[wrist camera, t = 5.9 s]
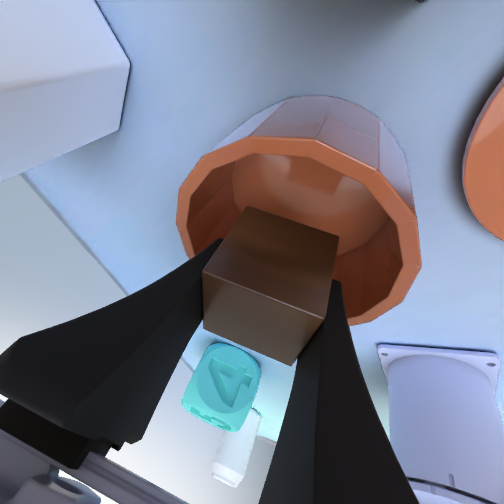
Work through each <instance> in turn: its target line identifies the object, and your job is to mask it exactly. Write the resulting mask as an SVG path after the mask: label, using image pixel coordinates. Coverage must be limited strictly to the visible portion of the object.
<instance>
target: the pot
mask: <svg viewBox="0 0 504 504" xmlns="http://www.w3.org/2000/svg"><path fill="white" fill-rule="evenodd" d="M247 206H251V207H254V208H257V209H260V210H263V211H266V212H269V213H272V214H275V215H278V216H281V217H284V218H287V219H290V220H293V221H296V222H299V223H302V224H305V225H308V226H311V227H314V228H317V229H319V230H322V231H325V232H328V233H331V234H334V235H337V236H339V244H338V249H337V255H336V260H335V266H334V271H333V277H332V279H335V280H338V281H340V282H341V284H342V291H343V298H344V304H345V310H346V315H347V320H348V324H349V326H353V325H358V324H363V323H368V322H371V321H373V320H374V319H376V318H378V317H379V316H381V315H382V314H384V313H385V312H387V311H389V310H390V309H392V308H393V307H395V306H397V305H398V304H400V303H401V302H402V301H403V300H404V298H405V296H406V294H407V293H408V291H409V289H410V287H411V285H412V284H413V282H414V280H415V278H416V276H417V275H418V273H419V271H420V269H421V267H422V266H421V265H422V260H421V251H420V241H419V232H418V223H417V216H416V211H415V205H414V200H413V194H412V189H411V183H410V177H409V172H408V166H407V161H406V155H405V153H404V151H403V150H402V149H401V147H400V145H399V144H398V142H397V140H396V139H395V137H394V135H393V134H392V132H391V131H390V130H389V129H388V128H387V127H386V126H385V124H384V123H383V122H382V121H381V120H380V119H379V118H378V117H376V116H375V115H373V114H372V113H371V112H369V111H367V110H366V109H364V108H362V107H361V106H359V105H357V104H354V103H352V102H349V101H346V100H344V99H339V98H335V97H330V96H319V95H310V96H299V97H291V98H288V99H285V100H283V101H281V102H278V103H276V104H273V105H271V106H270V107H268V108H266V109H265V110H263V111H261V112H259V113H257V114H254V115H253V116H252V117H250V118H249V119H248V120H247V121H245V122H244V123H243V124H242V125H241V126H239V127H238V128H237V129H236V130H234V131H233V132H232V133H231V134H229V135H228V136H227V137H226V138H224V139H223V140H222V141H221V142H219V143H218V144H217V145H216V146H215V147H213V148H212V149H211V150H210V151H208V152H207V153H206V154H205V155H203V156H202V157H201V158H200V160H199V161H198V163H197V164H196V165H195V167H194V168H193V170H192V171H191V172H190V174H189V175H188V177H187V178H186V179H185V181H184V182H183V183H182V185H181V186H180V189H179V194H178V205H177V215H176V225H177V228H178V231H179V234H180V237H181V240H182V243H183V246H184V249H185V252H186V254H187V256H188V257H189V259H191V258H193V257H194V256H195V255H197V254H198V253H200V252H201V251H202V250H204V249H205V248H206V247H208V246H209V245H210V244H211V243H213V242H214V241H215V240H216V239H218V238H222V239H224V238H225V237H226V236H227V234H228V233H229V231H230V230H231V228H232V227H233V225H234V224H235V222H236V221H237V220H238V218H239V217H240V215H241V214H242V212H243V211H244V209H245V208H246V207H247Z"/></svg>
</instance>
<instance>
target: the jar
mask: <svg viewBox="0 0 504 504" xmlns="http://www.w3.org/2000/svg"><path fill="white" fill-rule="evenodd" d="M129 69H130V62H129V60H128V58H127V56H126V54H125V53H124V51H123V49H122V47H121V46H120V44H119V42H118V40H117V39H116V37H115V35H114V34H113V32H112V30H111V28H110V27H109V25H108V23H107V21H106V20H105V18H104V16H103V14H102V13H101V11H100V9H99V8H98V6H97V4H96V2H95V1H94V0H0V183H1V182H3V181H5V180H7V179H9V178H12V177H14V176H16V175H19V174H21V173H23V172H25V171H28V170H30V169H32V168H34V167H37V166H39V165H41V164H43V163H46V162H48V161H50V160H52V159H55V158H57V157H59V156H61V155H64V154H66V153H68V152H70V151H73V150H75V149H77V148H79V147H82V146H84V145H86V144H88V143H91V142H93V141H95V140H97V139H99V138H102V137H104V136H106V135H108V134H111V133H113V132H115V131H117V130H118V129H119V126H120V120H121V114H122V108H123V102H124V97H125V91H126V85H127V80H128V74H129Z"/></svg>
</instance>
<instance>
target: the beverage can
mask: <svg viewBox="0 0 504 504" xmlns="http://www.w3.org/2000/svg"><path fill="white" fill-rule="evenodd" d="M259 424H260V417H259V416H258V413H257V411H255V410H254V409H252V408H250V411H249V413H248V415H247V418H246V420H245V422H244V424H243V425H242V427H241V429H240V430H239V431H237V432H229V431H225V430H224V432H223V435H222V438H221V440H220V443H219V446H218V449H217V451H216V454H215V457H214V459H213V473H212V476H213V477H215V478H217V479H218V480H220V481H222V482H224V483H226V484H228V485H230V486H232V487H234V488H237V485H238V484H239V483H240V481H241V480H242V479H243V478H244V475H245V471H246V468H247V465H248V461H249V458H250V454H251V451H252V448H253V444H254V440H255V437H256V434H257V431H258V427H259Z"/></svg>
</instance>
